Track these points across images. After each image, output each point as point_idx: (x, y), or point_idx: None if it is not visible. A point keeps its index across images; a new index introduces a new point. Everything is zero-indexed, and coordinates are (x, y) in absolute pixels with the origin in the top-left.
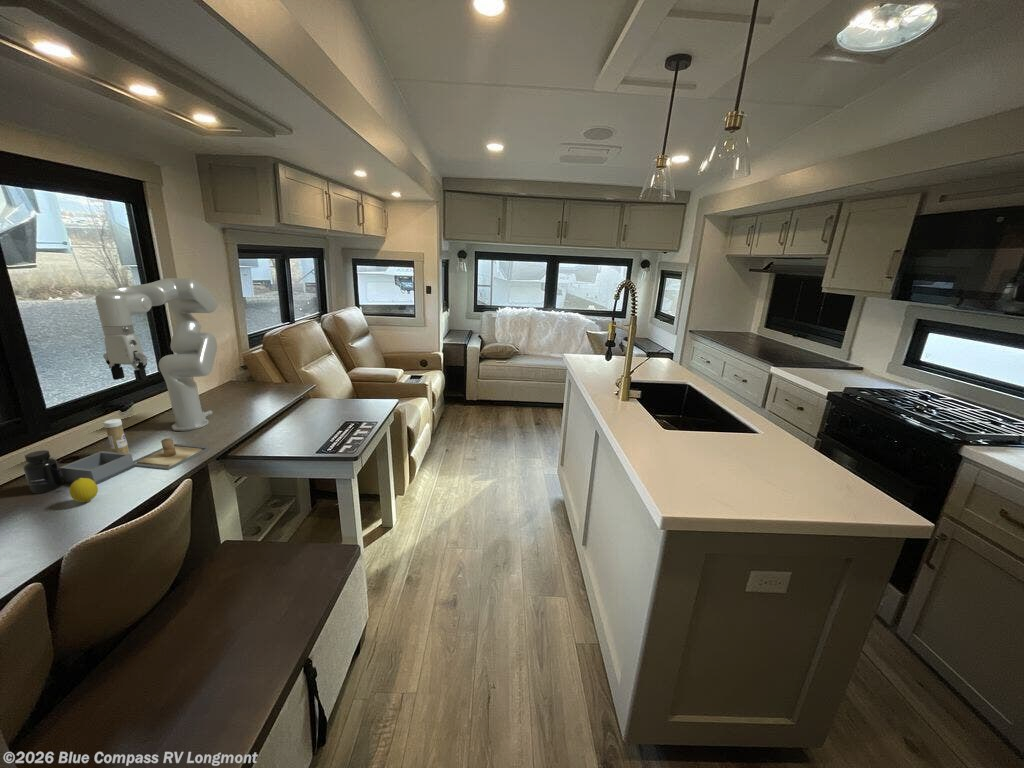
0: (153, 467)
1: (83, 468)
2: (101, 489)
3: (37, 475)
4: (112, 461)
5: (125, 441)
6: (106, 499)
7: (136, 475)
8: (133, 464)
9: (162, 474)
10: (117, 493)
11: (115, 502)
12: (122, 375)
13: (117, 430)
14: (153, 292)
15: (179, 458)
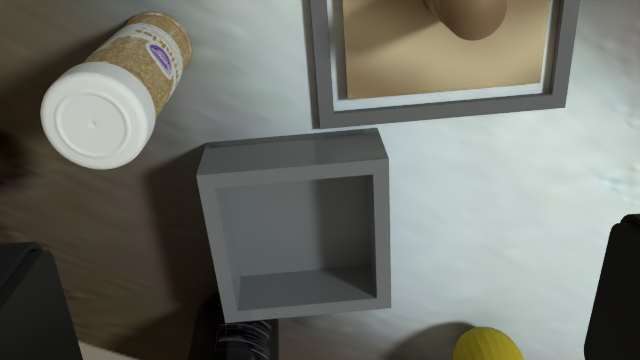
0: (478, 114)
1: (333, 303)
2: (434, 277)
3: None
4: (382, 232)
5: (169, 50)
6: (519, 309)
7: (460, 176)
8: (379, 136)
9: (566, 141)
10: (519, 279)
11: (567, 312)
12: (36, 309)
13: (158, 107)
14: None
15: (533, 11)
